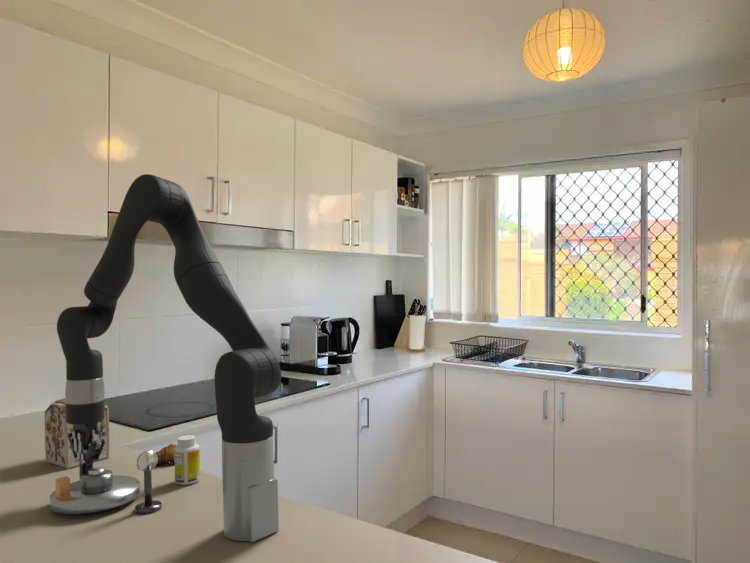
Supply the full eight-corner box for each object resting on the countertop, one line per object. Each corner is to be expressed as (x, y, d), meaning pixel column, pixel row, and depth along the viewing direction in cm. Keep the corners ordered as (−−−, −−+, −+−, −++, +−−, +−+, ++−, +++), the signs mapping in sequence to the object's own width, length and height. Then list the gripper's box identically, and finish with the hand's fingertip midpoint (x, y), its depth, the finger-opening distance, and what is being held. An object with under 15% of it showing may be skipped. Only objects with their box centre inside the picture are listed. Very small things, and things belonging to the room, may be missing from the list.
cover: (118, 488, 119) (117, 468, 119) (88, 497, 115) (88, 476, 115) (104, 482, 123) (104, 463, 123) (75, 490, 118) (75, 470, 118)
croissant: (194, 455, 153) (194, 436, 153) (201, 461, 147) (201, 442, 147) (141, 464, 146) (140, 445, 146) (146, 471, 140) (145, 451, 140)
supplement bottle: (202, 476, 134) (201, 433, 134) (197, 485, 129) (196, 440, 129) (178, 478, 134) (177, 434, 134) (172, 486, 128) (171, 441, 128)
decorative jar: (88, 451, 158) (87, 386, 158) (111, 457, 151) (110, 390, 152) (43, 462, 148) (42, 393, 149) (65, 470, 142) (64, 398, 142)
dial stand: (166, 508, 116) (165, 450, 116) (143, 516, 112) (141, 456, 112) (153, 502, 119) (152, 446, 119) (130, 510, 115) (129, 451, 115)
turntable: (155, 494, 120) (154, 467, 120) (70, 521, 107) (70, 490, 107) (117, 478, 131) (116, 453, 131) (36, 500, 118) (35, 472, 118)
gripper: (117, 399, 121) (118, 481, 121) (89, 392, 129) (90, 468, 129) (80, 406, 115) (81, 491, 115) (53, 398, 123) (54, 478, 123)
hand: (86, 479), depth 122 cm, fingers closed
